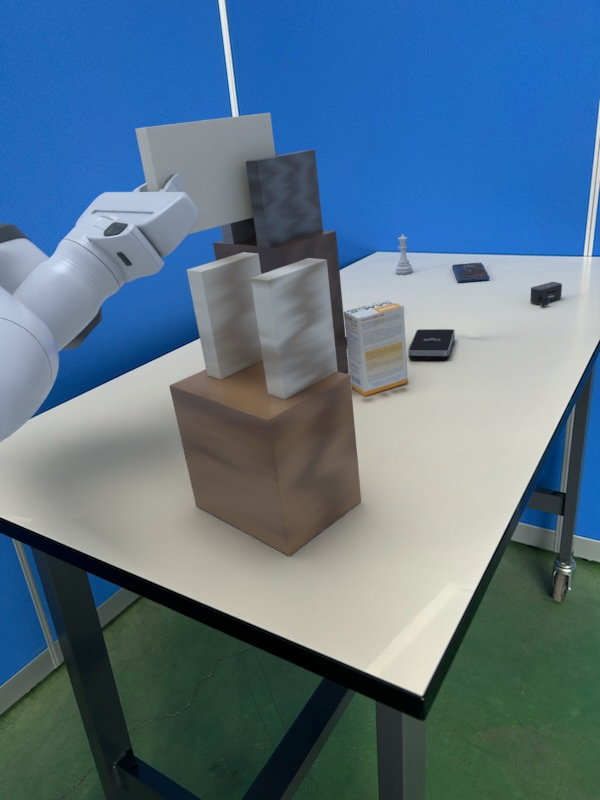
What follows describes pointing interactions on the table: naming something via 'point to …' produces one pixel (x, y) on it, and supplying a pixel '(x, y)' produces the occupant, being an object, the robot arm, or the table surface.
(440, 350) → the external hard drive
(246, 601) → the table surface
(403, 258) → the chess piece
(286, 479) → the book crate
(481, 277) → the smartphone
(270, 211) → the bookstand
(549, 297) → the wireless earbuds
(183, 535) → the table surface
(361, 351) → the supplement box
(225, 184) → the white book
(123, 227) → the robot arm
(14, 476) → the table surface
